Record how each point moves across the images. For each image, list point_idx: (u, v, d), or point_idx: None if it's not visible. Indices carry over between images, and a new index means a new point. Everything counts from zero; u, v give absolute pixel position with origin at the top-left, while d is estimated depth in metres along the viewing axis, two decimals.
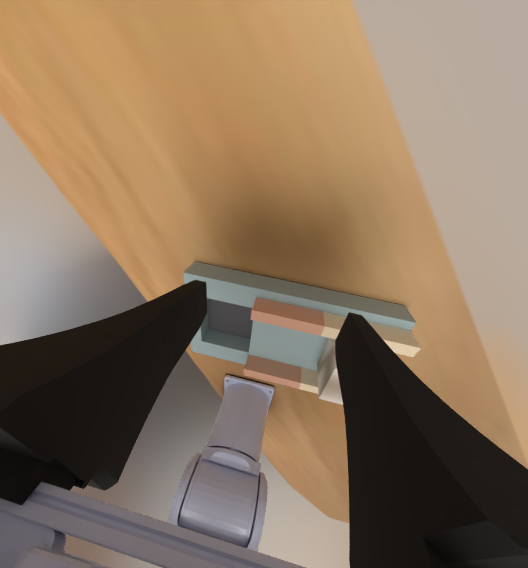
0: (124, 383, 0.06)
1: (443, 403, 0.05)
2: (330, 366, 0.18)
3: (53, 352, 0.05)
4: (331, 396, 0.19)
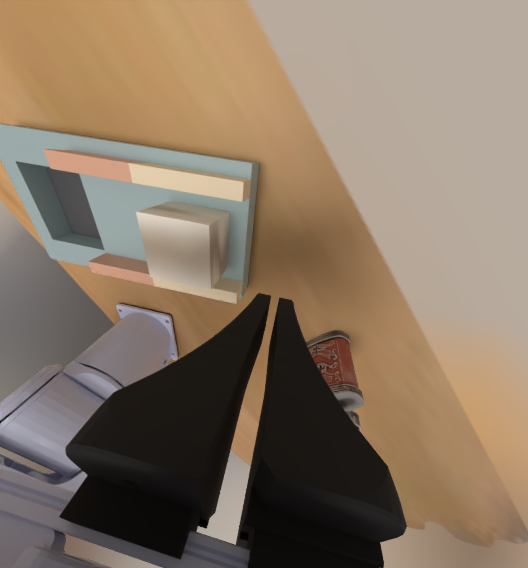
0: (233, 412, 0.06)
1: (317, 373, 0.05)
2: None
3: (190, 388, 0.04)
4: (159, 269, 0.15)
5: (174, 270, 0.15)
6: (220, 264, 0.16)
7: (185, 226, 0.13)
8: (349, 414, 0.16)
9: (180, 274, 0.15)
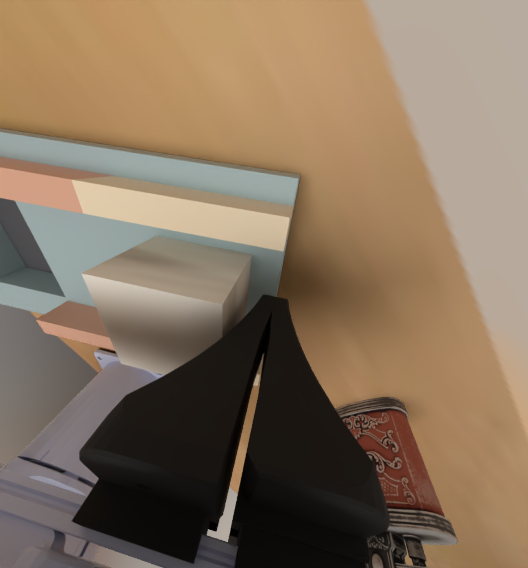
0: (242, 414, 0.05)
1: (308, 371, 0.06)
2: None
3: (201, 391, 0.04)
4: (135, 356, 0.09)
5: (160, 360, 0.09)
6: None
7: (176, 302, 0.07)
8: None
9: (170, 366, 0.09)
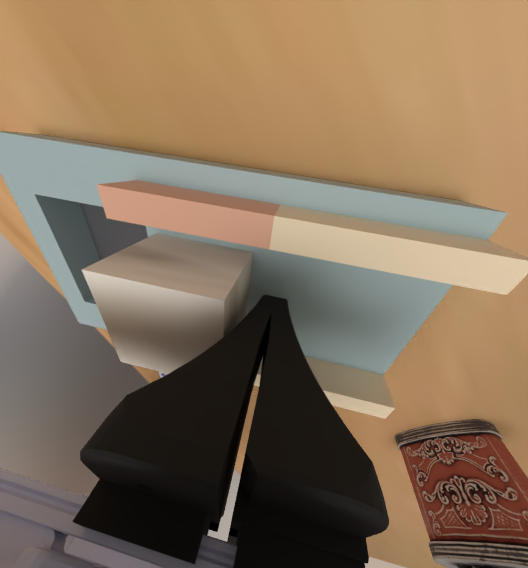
0: (243, 415, 0.05)
1: (308, 370, 0.06)
2: None
3: (202, 392, 0.04)
4: (135, 354, 0.09)
5: (160, 358, 0.09)
6: None
7: (177, 299, 0.07)
8: None
9: (171, 364, 0.09)
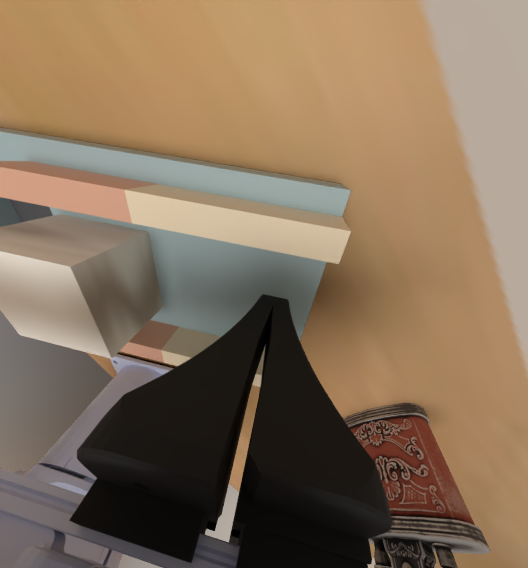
0: (240, 414, 0.05)
1: (310, 371, 0.06)
2: None
3: (199, 390, 0.04)
4: (27, 326, 0.09)
5: (49, 329, 0.09)
6: (138, 311, 0.11)
7: (33, 266, 0.07)
8: None
9: (60, 335, 0.09)
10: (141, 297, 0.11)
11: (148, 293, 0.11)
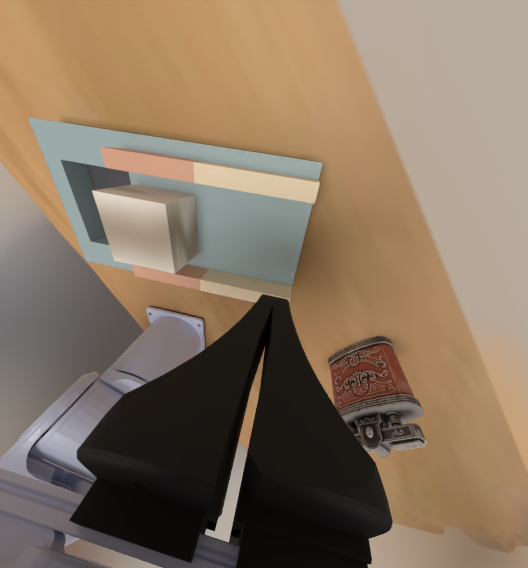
0: (240, 414, 0.05)
1: (310, 371, 0.06)
2: None
3: (199, 390, 0.04)
4: (122, 252, 0.15)
5: (137, 253, 0.15)
6: (187, 248, 0.16)
7: (142, 205, 0.13)
8: (412, 427, 0.16)
9: (143, 257, 0.15)
10: (189, 239, 0.16)
11: (193, 238, 0.17)
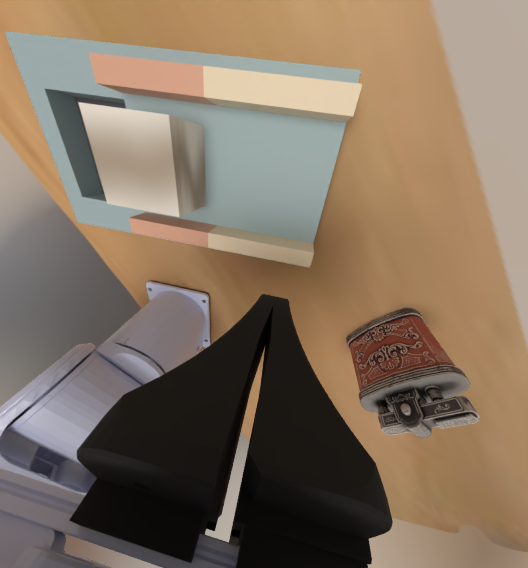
0: (240, 414, 0.05)
1: (310, 371, 0.06)
2: None
3: (199, 390, 0.04)
4: (117, 191, 0.12)
5: (134, 191, 0.12)
6: (194, 192, 0.14)
7: (140, 119, 0.10)
8: (461, 400, 0.13)
9: (142, 196, 0.12)
10: (196, 181, 0.14)
11: (200, 182, 0.14)
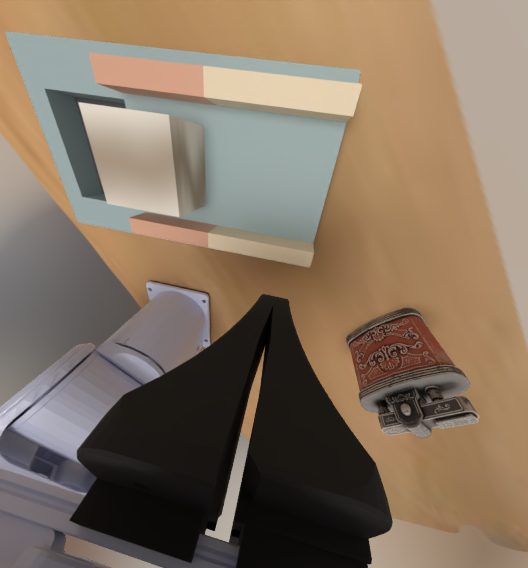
0: (240, 414, 0.05)
1: (310, 371, 0.06)
2: None
3: (199, 390, 0.04)
4: (117, 191, 0.12)
5: (134, 191, 0.12)
6: (194, 192, 0.14)
7: (140, 119, 0.10)
8: (461, 400, 0.13)
9: (142, 196, 0.12)
10: (196, 181, 0.14)
11: (200, 182, 0.14)
